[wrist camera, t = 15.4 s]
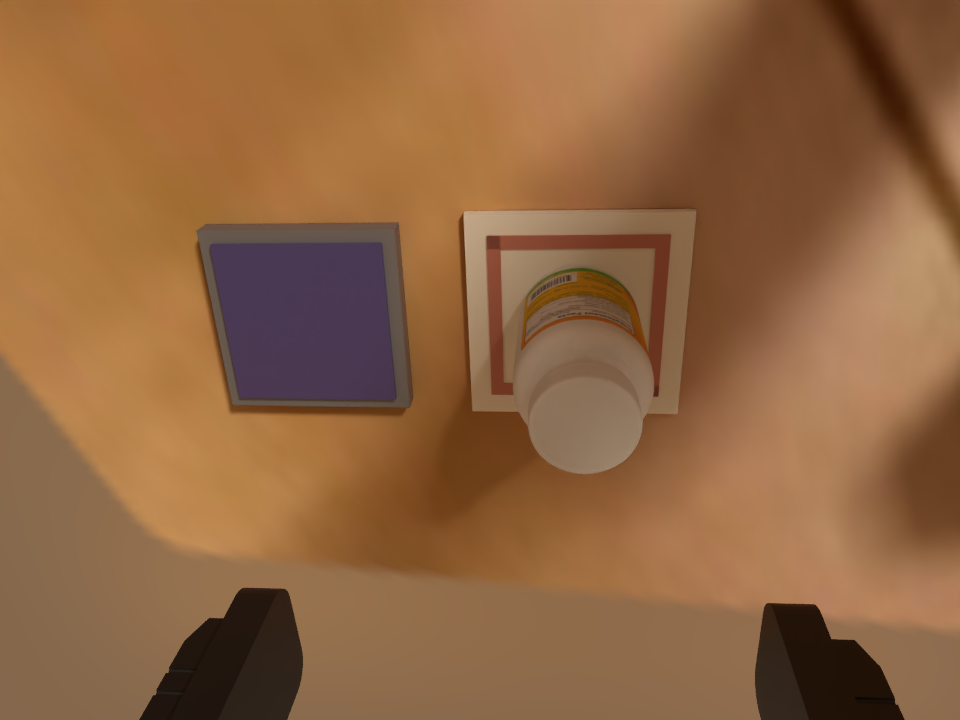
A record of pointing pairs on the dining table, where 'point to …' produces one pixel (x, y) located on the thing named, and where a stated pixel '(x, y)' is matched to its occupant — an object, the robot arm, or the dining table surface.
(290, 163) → the dining table surface
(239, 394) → the ink pad
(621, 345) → the supplement bottle
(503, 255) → the marked card
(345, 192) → the dining table surface
